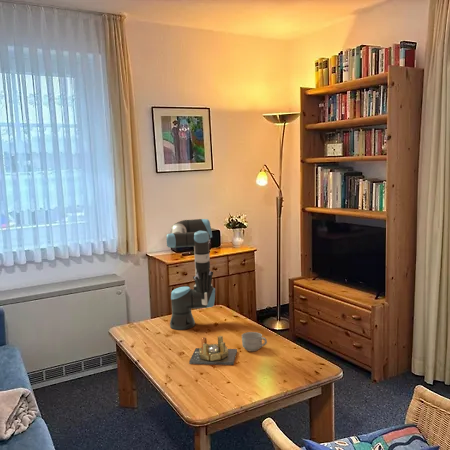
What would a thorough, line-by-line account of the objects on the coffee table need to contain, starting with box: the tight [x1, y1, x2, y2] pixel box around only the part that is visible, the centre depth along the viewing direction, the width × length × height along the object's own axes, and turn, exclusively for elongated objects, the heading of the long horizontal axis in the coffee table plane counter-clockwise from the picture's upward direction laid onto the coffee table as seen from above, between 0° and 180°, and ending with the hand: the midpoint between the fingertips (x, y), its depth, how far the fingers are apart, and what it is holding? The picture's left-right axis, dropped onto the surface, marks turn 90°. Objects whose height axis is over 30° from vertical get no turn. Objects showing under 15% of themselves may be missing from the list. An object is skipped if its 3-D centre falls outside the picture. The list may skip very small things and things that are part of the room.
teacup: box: [241, 331, 268, 352], centre depth 251 cm, size 14×11×8 cm
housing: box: [188, 346, 238, 366], centre depth 244 cm, size 16×22×6 cm
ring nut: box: [198, 335, 229, 361], centre depth 243 cm, size 14×14×8 cm
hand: (204, 304), depth 252 cm, fingers closed
